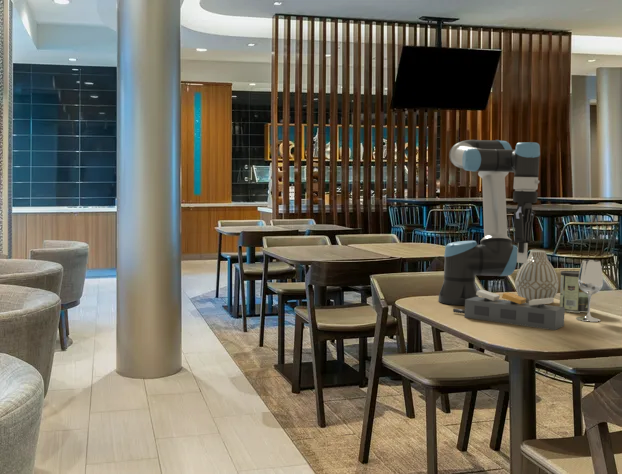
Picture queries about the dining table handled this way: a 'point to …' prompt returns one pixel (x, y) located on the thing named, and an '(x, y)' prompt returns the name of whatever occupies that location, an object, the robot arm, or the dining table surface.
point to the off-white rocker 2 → (541, 301)
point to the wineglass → (590, 283)
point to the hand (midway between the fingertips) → (521, 262)
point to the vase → (536, 277)
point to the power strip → (514, 313)
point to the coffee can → (572, 293)
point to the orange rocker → (514, 298)
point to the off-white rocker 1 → (488, 295)
